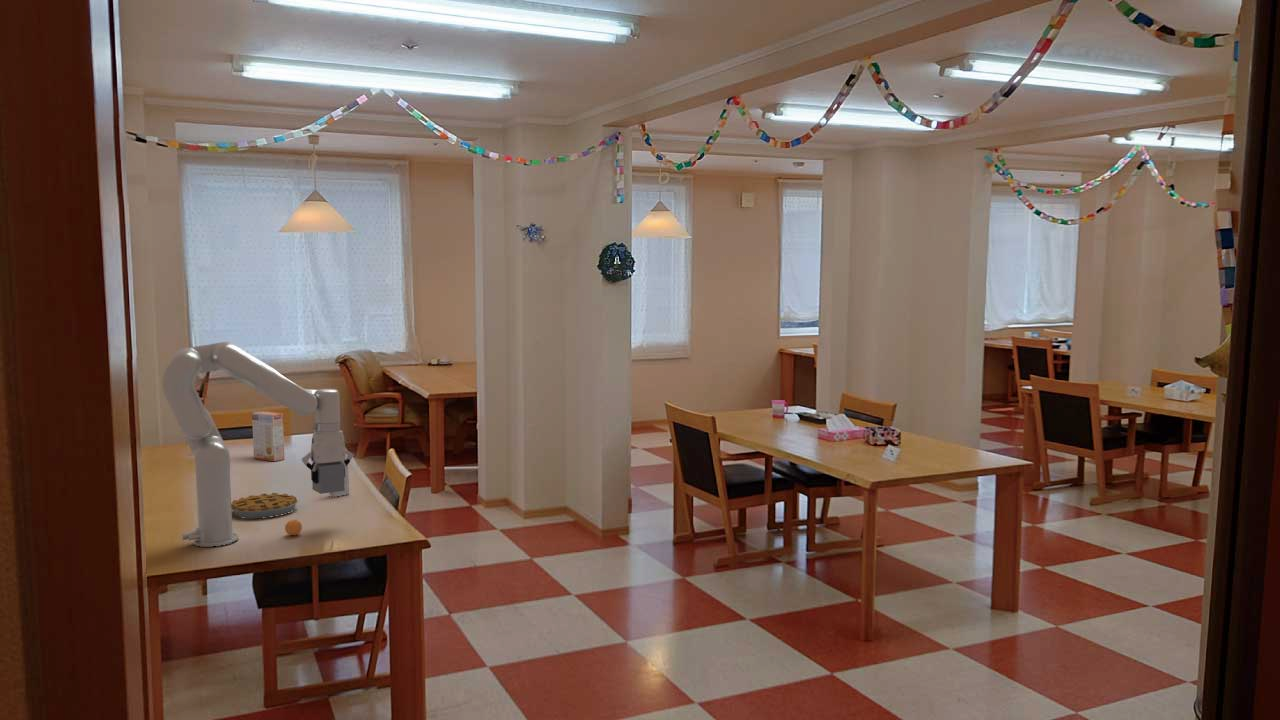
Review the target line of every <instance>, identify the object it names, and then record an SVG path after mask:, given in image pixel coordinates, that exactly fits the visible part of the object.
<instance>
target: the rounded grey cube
mask: <svg viewBox="0 0 1280 720" xmlns="http://www.w3.org/2000/svg"><path fill="white" fill-rule="evenodd" d="M317 471H318V483H317V484H315V483H313V481H312V480H311V481H312V490H313V491H315V492H317V493H318V494H321V495H322V494H329V493H331V492H339V491H344V464H343V463H339V462H336V463H327V464H319V465H318V468H317Z"/></svg>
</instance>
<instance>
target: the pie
mask: <svg viewBox="0 0 1280 720" xmlns="http://www.w3.org/2000/svg"><path fill="white" fill-rule="evenodd" d="M298 502H299V500H298V499H297V497H295V496H294V495H292V494H290V495H289V494H288V493H282V494H280V493H275V492H272V493H271V494H267V493H261V494H260V495H249V496H248V497H240V498H239V499H238V500H237V499H235V500H232V501H231V507H232V512H234V514H235V516H236V515H237V516H240V517H245V518H263V517H270V516H276V515H281V514H285V513H288V512H291V511H292V510H293V509H294V510H295V507H296V504H298ZM294 510H293V511H294ZM293 511H292V512H293ZM292 512H291V513H292ZM288 514H289V513H288ZM285 515H286V514H285ZM237 516H236V517H237ZM281 516H282V515H281ZM240 517H239V518H240ZM245 518H244V519H245ZM263 519H264V518H263Z"/></svg>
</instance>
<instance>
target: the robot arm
mask: <svg viewBox="0 0 1280 720" xmlns="http://www.w3.org/2000/svg"><path fill="white" fill-rule="evenodd" d="M220 370H221V371H222V372H224V373H225V374H227V375H228V376H231V377H232V378H235V379H237V380H238V381H240V382H241V383H243V384H244V385H247V386H249V387H250V388H251V389H253V390H255V391H257V392H258V393H260V394H262V395H264V396H266V397H268V398H270V399H272V400H274V401H275V402H278V404H281V405H283V406H284V407H285V408H287V409H288V410H290V411H292V412H294V413H296V414H298V415H299V416H300V415H301V416H310V415H312V414H313V413H314V424H311V425H310V429H311V430H314V431H313V432H312V438H311V445H310V451H309V452H308V453H307V454H306V455H304V456H303V457H302V458H301V462H302V463H303V465H305V466H306V467H307V468H308V470H310V475H311V478H310V479H311V481H313V483H315V484H317V483H318V471H317V468H318V465H319V464H327V463H336V462H339V463H343V464H344V477H345V468H346V466H347V465H348V466H349V463H350V462H351V460H352V459H353V457H354V456H355V454H354V453H353V452H351V451H349V449H346V444H345V443H346V442H345V436H344V431H343V430H341V427H340V426H341V421H340V420H341V417H340V416H341V415H340V414H341V413H340V411H341V410H340V406H341V405H340V398H341V397H340V391H339V390H338V389H336V388H321V389H309V388H308V389H307V388H303V387H302V386H300V385H298V384H296V383H295V382H293V381H291V380H290V379H288V378H287V377H285V376H284V375H283V374H281V373H280V372H279V371H278V370H276V369H275V368H274V367H273V366H271V365H269V364H267V363H265V362H264V361H263V360H260V359H259V358H258V357H256V356H254V355H252V354H250V353H249V352H248V351H245V350H244V349H243V348H241V347H239V346H237V345H236V344H234V343H232V342H230V341H222V342H216V343H210V344H203V345H197V346H195V345H194V346H190V347H184V348H180V349H178V350H176V351H175V352H174V353H173V355H172V356H171V358H170V362H169V364H168V365H167V366H166V368H165V370H164V372H163V375H162V381H161V385H162V386H161V387H162V391H163V394H164V397H165V399H166V401H167V403H168V405H169V407H170V410H171V412H172V414H173V416H174V418H175V421H176V422H177V426H178V429H179V431H180V433H181V434H182V436H183V437H184V439H185V441H186V444H187V446H188V447H189V449H190V450H191V453H192V455H193V457H194V464H195V465H194V466H195V483H196V484H195V487H196V501H197V502H196V505H197V521H198V522H197V524H198V527H195V530H193V531H192V532H186V533H185V532H184V533H181V539H182V541H186V540H188V541H193V545H194V546H196V547H199V546H200V547H201V548H214V547H213V546H216V547H222V546H221V545H223V546H226V544H227V545H230V544H229V543H231V544H233V543H232V542H234V541H236V540H237V539H238V540H239V534H237V533H235V532H234V530H233V529H234V527H233V510H232V507H231V503H232V491H231V455H230V454H231V453H230V450H229V448H228V446H227V445H226V443H225V442H224V440H223V437H222V435H221V433H220V431H219V430H218V427H217V426H216V424H215V421H214V419H213V417H212V415H211V413H210V412H209V410H208V409H207V408H206V407H205V405H204V403H203V401H202V400H201V397H200V395H199V392H198V391H197V389H196V387H195V379H196V377H197V376H198V375H199V374H202V373H209V372H215V371H220ZM309 460H311V462H312V463H310V462H309ZM238 540H237V541H238ZM237 541H236V542H237ZM234 543H235V542H234Z"/></svg>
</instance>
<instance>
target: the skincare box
mask: <svg viewBox="0 0 1280 720" xmlns="http://www.w3.org/2000/svg"><path fill="white" fill-rule="evenodd" d="M349 477H350V476H349V464H348V465H347V466H346V468H345V477H344V491H339V492H331V493H328V494H329V496H330V495H331V496H330V497H332V496H335V497H334V498H338V497H337V496H340V497H342V496H341V495H344V496H346V495H345V494H348V495H350V482H349V481H350V478H349Z"/></svg>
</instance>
